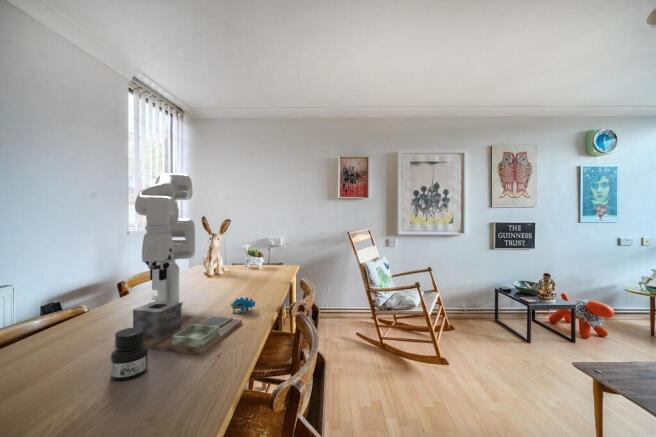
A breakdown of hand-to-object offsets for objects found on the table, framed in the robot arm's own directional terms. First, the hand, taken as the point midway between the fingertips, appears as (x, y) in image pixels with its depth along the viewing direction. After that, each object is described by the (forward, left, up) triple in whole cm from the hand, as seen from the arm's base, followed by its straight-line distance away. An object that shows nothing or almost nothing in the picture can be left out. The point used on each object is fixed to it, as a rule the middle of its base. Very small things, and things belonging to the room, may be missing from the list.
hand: (158, 279), depth 112 cm
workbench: (+8, +4, -21) cm, 23 cm away
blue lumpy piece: (+18, +32, -22) cm, 42 cm away
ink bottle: (+11, -24, -21) cm, 34 cm away
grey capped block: (0, 0, -4) cm, 4 cm away
